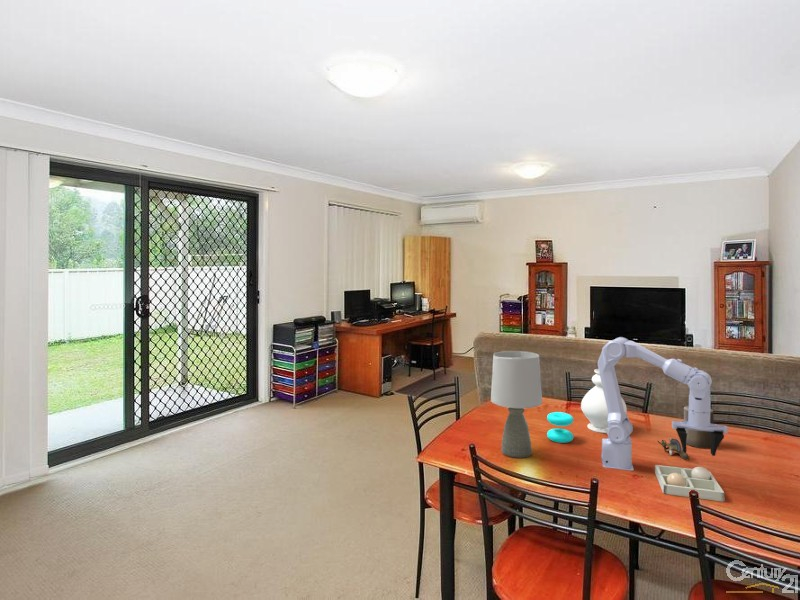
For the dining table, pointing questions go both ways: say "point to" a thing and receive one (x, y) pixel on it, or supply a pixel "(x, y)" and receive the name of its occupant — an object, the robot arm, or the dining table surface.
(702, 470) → the cream egg
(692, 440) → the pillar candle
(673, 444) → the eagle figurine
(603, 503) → the dining table surface
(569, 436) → the donuts
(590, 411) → the decorative vase
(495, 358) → the lamp
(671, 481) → the brown egg
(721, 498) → the egg tray
